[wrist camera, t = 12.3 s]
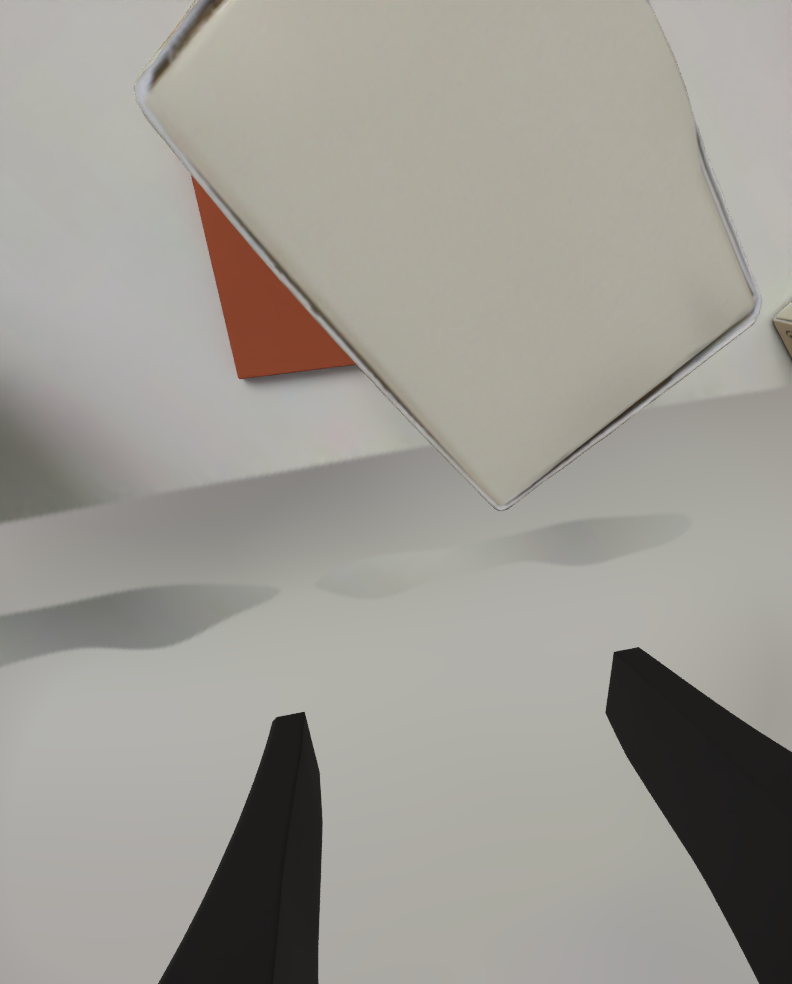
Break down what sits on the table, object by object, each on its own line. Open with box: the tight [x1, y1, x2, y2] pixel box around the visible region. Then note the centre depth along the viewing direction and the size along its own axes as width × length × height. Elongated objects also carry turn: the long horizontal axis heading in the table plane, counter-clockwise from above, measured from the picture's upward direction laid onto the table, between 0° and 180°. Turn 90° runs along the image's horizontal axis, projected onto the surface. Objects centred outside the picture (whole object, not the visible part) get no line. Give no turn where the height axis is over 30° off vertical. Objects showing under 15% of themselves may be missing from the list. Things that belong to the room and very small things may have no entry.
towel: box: [191, 175, 356, 379], centre depth 16 cm, size 10×8×1 cm
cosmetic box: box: [134, 0, 762, 511], centre depth 11 cm, size 6×4×12 cm
